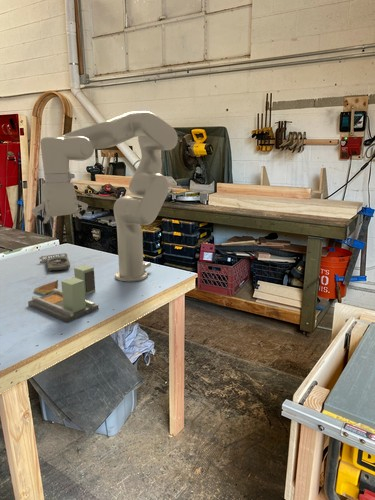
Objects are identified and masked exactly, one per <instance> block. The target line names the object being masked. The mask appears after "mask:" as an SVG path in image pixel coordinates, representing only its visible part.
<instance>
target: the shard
mask: <svg viewBox="0 0 375 500" xmlns="http://www.w3.org/2000/svg"><path fill="white" fill-rule="evenodd" d="M58 286H59V279H57V280H54V281H51V282H49V283H45V284H43V285H39V286H38V287H35V288H34V290H33V292H35V293H37V294H41V295H42V296H45V295H48V294H51V293H54V292H53V289H55V288H56V289H58Z"/></svg>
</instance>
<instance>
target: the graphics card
mask: <svg viewBox="0 0 375 500" xmlns="http://www.w3.org/2000/svg"><path fill="white" fill-rule="evenodd" d="M68 257H69V256H68V253H65V252H64V253H56V254H50V255H49V254H48V255H42V256H40V257H39V260H40V261H39V263H40V264H44V263H46V266H47V271H50V272H51V271H58V270H60V271H61V270H68V269H69V268H71V262H70V260H69V258H68Z"/></svg>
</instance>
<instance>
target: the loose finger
mask: <svg viewBox="0 0 375 500" xmlns="http://www.w3.org/2000/svg"><path fill="white" fill-rule="evenodd" d="M73 269H74V271H73V272H74V277H75V278H78V279H81V280H84V289H85V296H87V295H89V294H92V293H94V292H96V281H95V267H93V266H91V265H86V264H81V265H79V266H76V267H74V268H73Z"/></svg>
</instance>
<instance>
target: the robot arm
mask: <svg viewBox="0 0 375 500" xmlns="http://www.w3.org/2000/svg"><path fill="white" fill-rule="evenodd" d="M136 137H137V140H138V141H137V142H138V145H139V148H140V153H141V154H140V155H141V158H140V161H139V164H138V166H137V168H136V170H135V172H134V174H133V175H132V178H131V179H130V182H129V185H128V190H129V192H130V193H131V194H132V195H133V196H129V195H123V196H120V197H119V198H117V199H116V201H114V204H113V215H114V220H115V225H116V233H117V234H116V235H117V255H118V271H117V272H115V274H114V275H115V276H114V277H115V279H116V280H118V281H121V282H126V283H127V282H129V283H131V282H139V281H142V280H143V281H144V280H145V279H146V278H147V277H148V272H147V271H146V269H147V268H150V267H152V263H151V262H150V261H149V262H145V263H144V251H143V250H144V248H143V247H144V245H143V243H144V242H143V239H144V237H143V229H142V226H148V225H152V223H153V222H154V221H156V218H157V217H158V215H159V213H160V211H161V209H162V207H163V205H164V203H165V200H166V198H167V197H168V193H169V190H170V189H169V180H168V179H167V177H166V176H164V175H163V174H161V170H162V168H163V167H162V166H163V161H162V158H161V154H160V153H159V151H170V150H174V149H175V147H177V144H178V141H179V140H178V139H179V136H178V132H176V129H175V128H174V127H173V126H171V125H170V124H169V123H167V122H166V121H165V120H163V119H162V118H161V117H159V116H158V115H156V114H155V113H154V112H150V111H148V110H140V111H129V112H126V113H123V114H121V115H117V116H116V117H113V118H111V119H108V120H105V121H103V122H99V123H95V124H92V125H89V126H86V127H83V128H79V129H75V130H72V131H70V132H67V133H65V134H63V135H60V136H45V137H42V138H41V139H40V143H39V144H40V150H41V151H40V153H41V158H42V160H41V161H42V168H43V175H44V176H43V177H44V182H45V183H42V184H41V185H42V187H41V201H42V202H41V203H40V204H39V205H37V206H35V207H34V208H32V209H31V212H32V214H33V215H34V217H36V219H38V220H39V221H40V222H42V227H43V233H44V234H45V235H46V236H51V227H50V223H49V221H50V219H51V217H59V216H60V217H62V216H67V215H68V216H69V215H74V216H75V217H74V224H75V225H74V226H75V230H76V231H78V232H81V230H82V228H83V227H82V226H83V225H82V223H83V222H82V220H83V216H85V214H86V213H87V210H88V207H89V204H88V203H85V202H83V201H81V200H78V197H77V194H76V193H77V192H76V190H75V189H76V188H75V186H74V183H73V181H72V179H75V178H76V176H75V174H74V173H71V172H70V163H69V162H70V161H77V162H79V161H81V162H82V161H83V162H84V161H87V160H88V159H89V160H90V158H91V157H92V156H93V155H94V152H95V150H96V149H97V150H98V149H108V148H112V147H115V146H118V145H120V144H122V143H125V142H126V141H128V140H131V139H134V138H136ZM79 206H81V209H80V210H79ZM40 211H43V213H44V214H43V216H41V214H40V213H39V212H40Z"/></svg>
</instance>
